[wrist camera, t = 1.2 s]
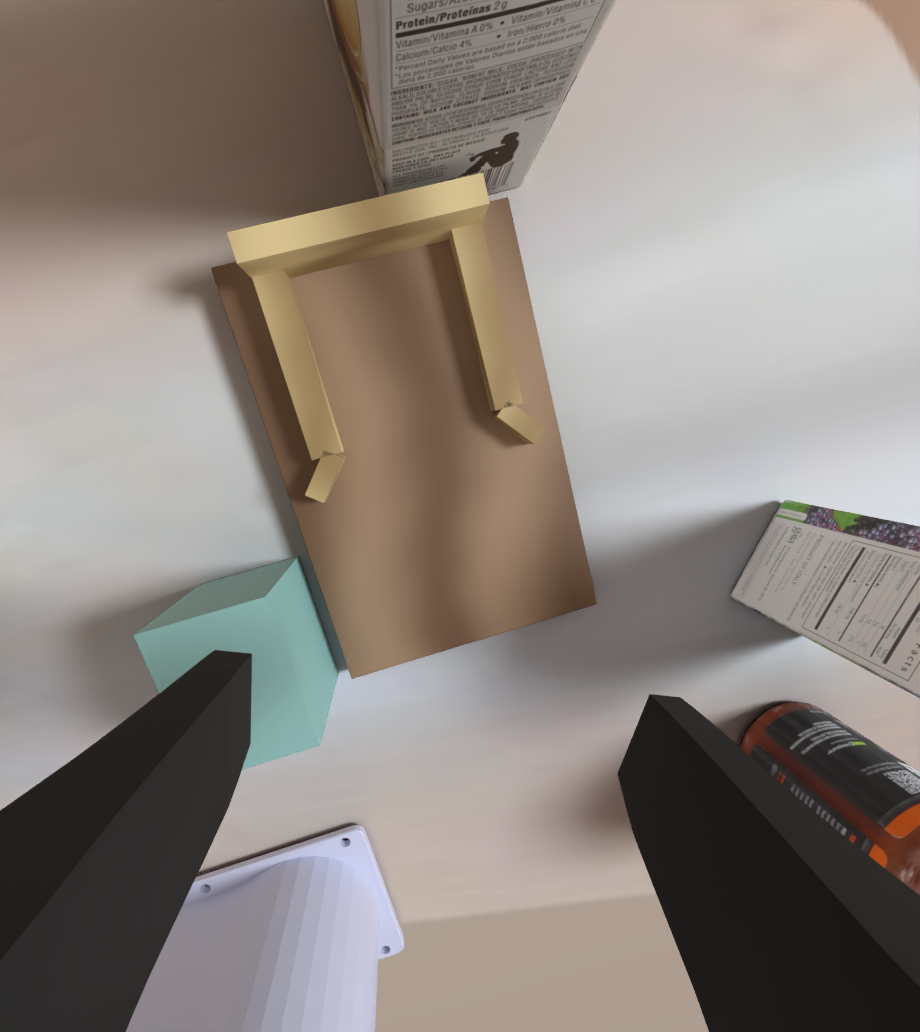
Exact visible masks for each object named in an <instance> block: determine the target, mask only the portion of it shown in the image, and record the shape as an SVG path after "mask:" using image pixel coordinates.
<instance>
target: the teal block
mask: <svg viewBox="0 0 920 1032" xmlns="http://www.w3.org/2000/svg"><path fill="white" fill-rule="evenodd" d="M133 636H134V638H135V640H136V643H137V645H138V647H139V649H140V652H141V654H142V656H143V659H144V661H145V663H146V665H147V668H148V670H149V672H150V674H151V677H152V679H153V681H154V684H155V686H156V688H157V690H158V693H161V692H162V691H163V690H164V689H166V688H167V687H168V686H169V685H171V684H172V683H173V682H174V681H176V680H177V679H178V678H179V677H181V676H182V675H183V674H184V673H186V672H187V671H188V670H189V669H190V668H192V667H193V666H194V665H195V664H197V663H198V662H199V661H201V660H202V659H203V658H204V657H206V656H207V655H208V654H210V653H211V652H213V651H214V650H221V651H231V652H241V653H251V654H252V688H251V744H250V747H249V750H248V753H247V756H246V759H245V762H244V764H243V767H242V770H243V769H246V768H249V767H253V766H256V765H259V764H262V763H265V762H269V761H272V760H275V759H278V758H281V757H284V756H288V755H291V754H294V753H297V752H300V751H303V750H307V749H310V748H313V747H316V746H319V745H320V744H321V740H322V736H323V732H324V728H325V724H326V720H327V716H328V713H329V709H330V705H331V701H332V697H333V693H334V689H335V685H336V681H337V677H338V673H339V672H338V669H337V666H336V663H335V660H334V657H333V655H332V652H331V649H330V646H329V643H328V640H327V637H326V635H325V632H324V629H323V626H322V623H321V620H320V617H319V614H318V612H317V609H316V606H315V603H314V600H313V597H312V594H311V591H310V589H309V586H308V583H307V580H306V577H305V574H304V571H303V568H302V566H301V563H300V560H299V557H294V558H291V559H287V560H284V561H280V562H277V563H273V564H270V565H266V566H263V567H259V568H256V569H252V570H249V571H245V572H242V573H238V574H235V575H231V576H228V577H224V578H221V579H217V580H214V581H210V582H207V583H203V584H200V585H198V586H197V587H196V588H194V589H193V590H192V591H190V592H189V593H188V594H187V595H185V596H184V597H183V598H181V599H180V600H179V601H177V602H176V603H175V604H173V605H172V606H171V607H170V608H168V609H167V610H166V611H164V612H163V613H162V614H160V615H159V616H158V617H156V618H155V619H154V620H152V621H151V622H150V623H149V624H147V625H146V626H145V627H143V628H142V629H141V630H139V631H138V632H137V633H135V634H134V635H133Z"/></svg>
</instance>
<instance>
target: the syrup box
mask: <svg viewBox="0 0 920 1032" xmlns="http://www.w3.org/2000/svg"><path fill="white" fill-rule="evenodd" d="M731 598H732V599H734V600H736V601H738V602H740V603H742V604H744V605H746V606H748V607H749V608H751V609H753V610H755V611H757V612H759V613H760V614H762V615H764V616H766V617H768V618H770V619H772V620H773V621H775V622H777V623H779V624H781V625H783V626H785V627H787V628H789V629H791V630H792V631H794V632H796V633H798V634H800V635H802V636H804V637H806V638H808V639H809V640H811V641H813V642H815V643H817V644H819V645H821V646H823V647H825V648H826V649H828V650H830V651H832V652H834V653H836V654H838V655H840V656H842V657H844V658H845V659H847V660H849V661H851V662H853V663H855V664H857V665H859V666H860V667H862V668H864V669H866V670H868V671H870V672H872V673H873V674H875V675H877V676H879V677H881V678H883V679H885V680H887V681H888V682H890V683H892V684H894V685H896V686H898V687H900V688H902V689H904V690H905V691H907V692H909V693H911V694H913V695H915V696H917V697H919V698H920V526H914V525H909V524H905V523H899V522H894V521H889V520H884V519H879V518H874V517H869V516H864V515H859V514H854V513H849V512H844V511H838V510H834V509H828V508H823V507H819V506H814V505H809V504H803V503H799V502H794V501H789V500H786V501H784V502H783V503H781V505H780V507H779V509H778V510H777V512H776V514H775V515H774V517H773V519H772V521H771V523H770V524H769V526H768V528H767V530H766V531H765V533H764V535H763V537H762V539H761V540H760V542H759V544H758V546H757V547H756V549H755V551H754V553H753V555H752V556H751V558H750V560H749V562H748V564H747V566H746V568H745V569H744V571H743V573H742V575H741V577H740V579H739V580H738V582H737V584H736V586H735V588H734V590H733V591H732V593H731Z"/></svg>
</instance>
